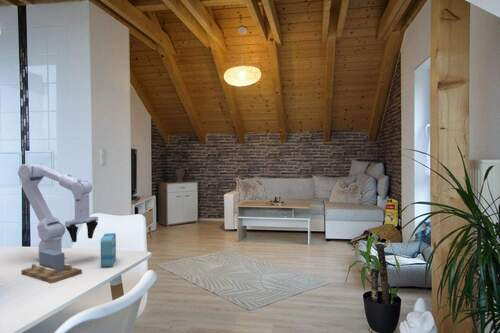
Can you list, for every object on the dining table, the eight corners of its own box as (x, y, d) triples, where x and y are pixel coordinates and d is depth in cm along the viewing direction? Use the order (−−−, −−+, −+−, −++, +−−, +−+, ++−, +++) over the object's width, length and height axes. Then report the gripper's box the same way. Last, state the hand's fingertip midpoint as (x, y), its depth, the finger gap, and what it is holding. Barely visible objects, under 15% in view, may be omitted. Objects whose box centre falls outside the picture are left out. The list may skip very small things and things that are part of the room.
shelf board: (21, 273, 134) (21, 264, 134) (51, 265, 145) (51, 257, 145) (51, 283, 125) (51, 273, 125) (81, 273, 135) (81, 264, 135)
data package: (112, 267, 143) (112, 238, 143) (100, 268, 142) (100, 239, 142) (115, 258, 155) (115, 232, 154) (105, 259, 153) (104, 232, 153)
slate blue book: (39, 269, 135) (39, 251, 135) (49, 266, 139) (49, 249, 139) (54, 273, 130) (54, 255, 130) (64, 270, 134) (64, 252, 134)
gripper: (72, 212, 142) (72, 244, 142) (102, 207, 154) (102, 237, 155) (61, 210, 145) (62, 242, 146) (92, 206, 158) (92, 235, 158)
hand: (82, 240), depth 150 cm, fingers open, 7 cm apart
